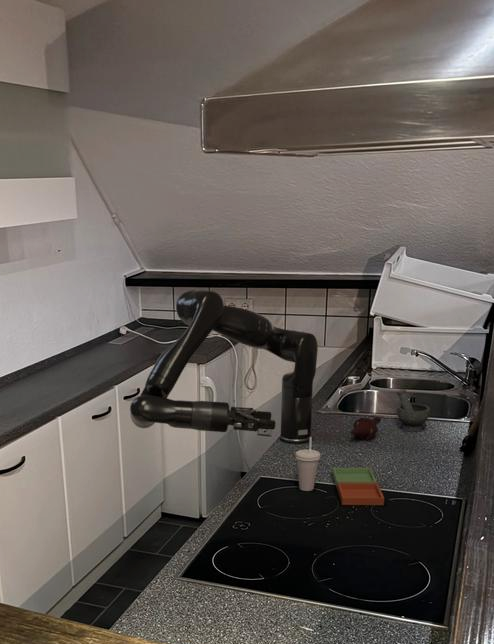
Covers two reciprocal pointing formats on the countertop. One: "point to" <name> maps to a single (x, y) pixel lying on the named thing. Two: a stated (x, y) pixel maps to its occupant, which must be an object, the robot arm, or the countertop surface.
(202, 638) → the countertop surface
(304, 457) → the smoothie
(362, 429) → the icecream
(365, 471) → the green tray
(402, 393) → the mortar and pestle
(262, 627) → the countertop surface
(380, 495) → the terracotta tray
